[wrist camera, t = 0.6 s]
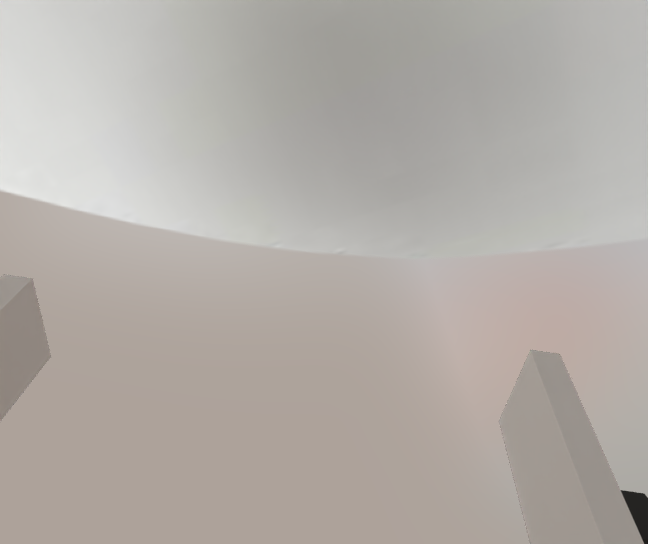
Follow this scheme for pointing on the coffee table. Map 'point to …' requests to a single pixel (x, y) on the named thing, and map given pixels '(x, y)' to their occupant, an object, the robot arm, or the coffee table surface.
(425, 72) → the coffee table surface
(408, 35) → the coffee table surface
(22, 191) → the coffee table surface
